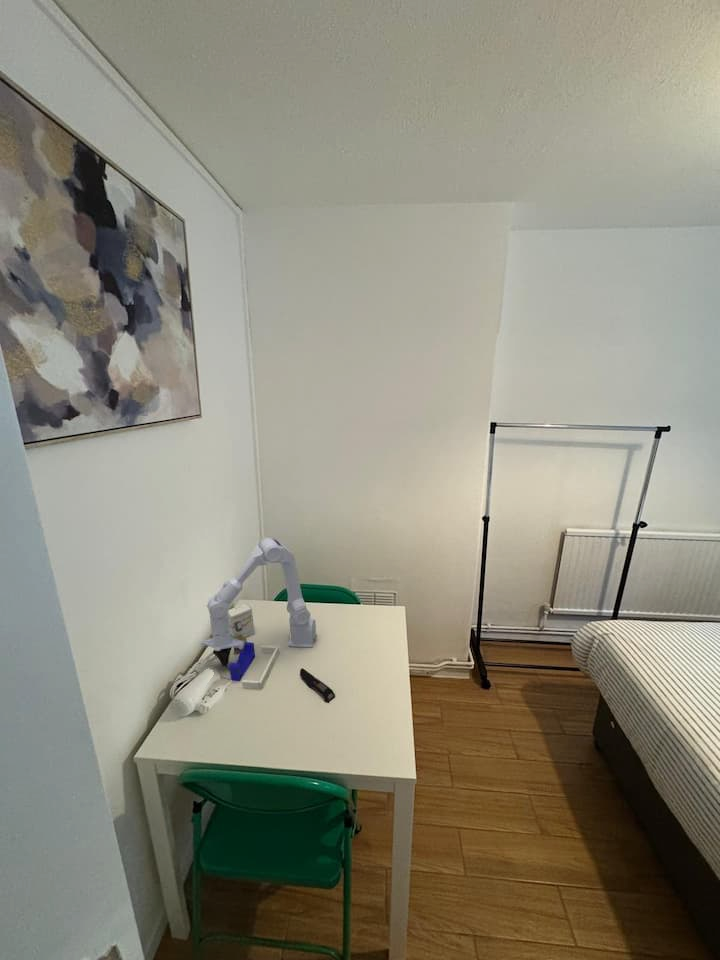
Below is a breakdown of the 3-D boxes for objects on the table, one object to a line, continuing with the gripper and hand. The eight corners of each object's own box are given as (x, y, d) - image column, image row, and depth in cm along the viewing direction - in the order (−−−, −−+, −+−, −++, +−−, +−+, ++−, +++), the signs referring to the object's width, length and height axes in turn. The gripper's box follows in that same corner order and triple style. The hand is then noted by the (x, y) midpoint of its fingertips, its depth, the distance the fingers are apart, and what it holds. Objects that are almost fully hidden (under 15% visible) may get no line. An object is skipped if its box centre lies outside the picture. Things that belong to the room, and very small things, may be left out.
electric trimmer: (306, 672, 128) (306, 664, 128) (336, 697, 117) (335, 688, 117) (297, 678, 126) (296, 670, 125) (327, 704, 115) (326, 695, 114)
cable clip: (243, 655, 137) (242, 641, 136) (255, 657, 136) (253, 642, 135) (227, 680, 126) (225, 665, 124) (239, 681, 125) (237, 666, 123)
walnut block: (247, 645, 142) (246, 636, 141) (245, 652, 138) (244, 643, 137) (236, 647, 142) (235, 637, 141) (234, 654, 138) (233, 644, 137)
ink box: (250, 628, 153) (247, 602, 150) (255, 634, 149) (252, 607, 146) (229, 637, 148) (225, 610, 145) (234, 643, 144) (230, 616, 141)
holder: (279, 652, 138) (278, 646, 137) (261, 689, 121) (260, 683, 121) (262, 651, 139) (261, 645, 138) (242, 688, 122) (241, 681, 121)
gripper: (194, 636, 125) (200, 671, 128) (235, 639, 123) (240, 674, 127) (205, 623, 132) (210, 657, 135) (244, 625, 130) (248, 659, 133)
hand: (225, 664), depth 131 cm, fingers closed
